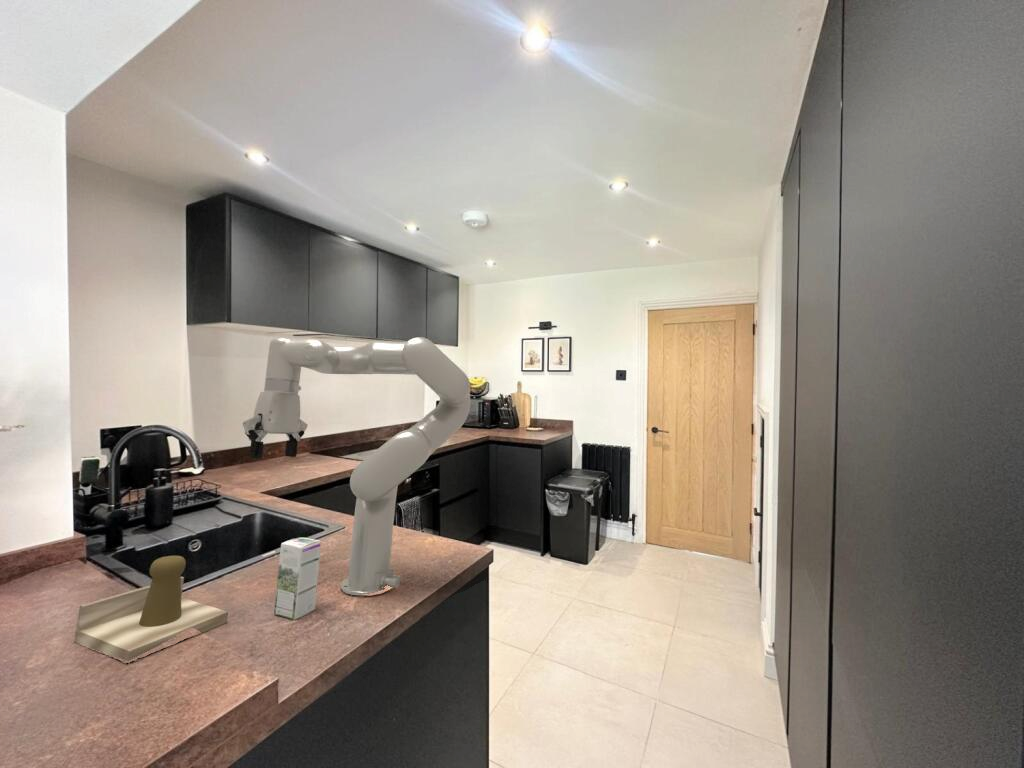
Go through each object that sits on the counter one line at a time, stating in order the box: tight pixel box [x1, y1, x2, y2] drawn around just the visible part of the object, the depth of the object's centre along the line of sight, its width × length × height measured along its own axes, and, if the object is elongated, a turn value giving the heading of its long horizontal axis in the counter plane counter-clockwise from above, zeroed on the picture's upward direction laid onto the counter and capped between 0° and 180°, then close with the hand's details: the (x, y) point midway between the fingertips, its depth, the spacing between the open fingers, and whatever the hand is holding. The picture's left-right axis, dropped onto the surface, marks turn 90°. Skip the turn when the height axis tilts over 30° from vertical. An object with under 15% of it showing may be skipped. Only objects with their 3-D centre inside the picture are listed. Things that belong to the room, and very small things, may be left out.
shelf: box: [73, 576, 229, 661], centre depth 76 cm, size 15×16×6 cm
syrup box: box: [273, 536, 322, 621], centre depth 87 cm, size 6×6×14 cm
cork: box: [139, 555, 187, 627], centre depth 77 cm, size 6×6×11 cm
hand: (273, 457), depth 101 cm, fingers open, 9 cm apart
